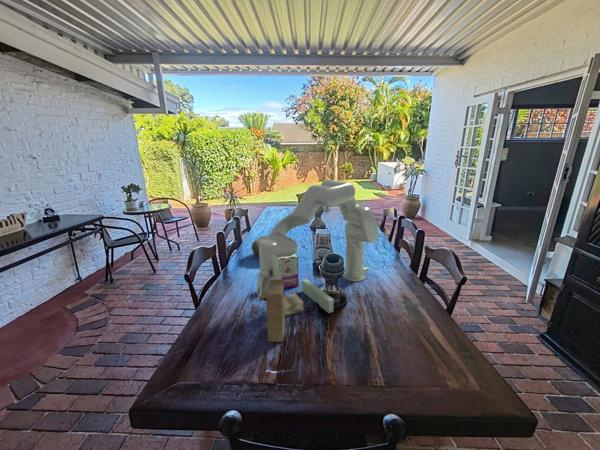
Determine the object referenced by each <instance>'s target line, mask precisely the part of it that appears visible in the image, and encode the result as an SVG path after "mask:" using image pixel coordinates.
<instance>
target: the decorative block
mask: <svg viewBox="0 0 600 450" xmlns="http://www.w3.org/2000/svg"><path fill="white" fill-rule="evenodd" d="M284 296H285V288H284V280H270V281H269V285H268V289H267V293H266V301H265V302H266V304H265V305H266V325H267V342H269V343H283V341H284V336H285V335H284V334H285V328H286V327H285V325H286V320H285V319H286V315H284V314H283V299H284Z"/></svg>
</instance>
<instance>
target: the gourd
mask: <svg viewBox="0 0 600 450" xmlns="http://www.w3.org/2000/svg"><path fill="white" fill-rule="evenodd" d="M269 235H270V234H269ZM269 235H264V236H260V237H258V238H257V239H255V240H254V241H253V242H252V243H251V250H252V252H253V253H252V254H253V255H254V257H256V259H259V260H260V256H259V244H260V242H261V241H263V240H268V238H269ZM285 236H287V234H286V235H285Z"/></svg>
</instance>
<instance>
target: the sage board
mask: <svg viewBox="0 0 600 450" xmlns="http://www.w3.org/2000/svg"><path fill="white" fill-rule="evenodd" d="M301 284H302V285H301V288H302V290H301V291H302V293H304V294H305V295H307V297H308V298H310V299H311V300H312V301H313V302H314V303H316V302H317V303H318V304H319V305H318V304H317V303H316V304H317V305H318V306H319V307H320V308H321V309H323V310H324V311H325V312H326V313H327V314H330V313H333V312H334V306H335V305H334V303H335V302H334V301H335V299H334V298H333V297H331V296H330V295H329V294H327V292H326V293H325V291H324V290H322V289H320V288H319V287H318V286H317V285H315V284H314V283H313V282H311V280H308V279H307V278H305V279H302V281H301Z"/></svg>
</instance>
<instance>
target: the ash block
mask: <svg viewBox="0 0 600 450" xmlns="http://www.w3.org/2000/svg"><path fill="white" fill-rule="evenodd" d="M299 312H304V301H303V300H302V299H301V297H300V296H299V295H298V294H297V293H292V294H287V295H284V299H283V314H284V315H285V316H288V315H293V314H296V313H299Z"/></svg>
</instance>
